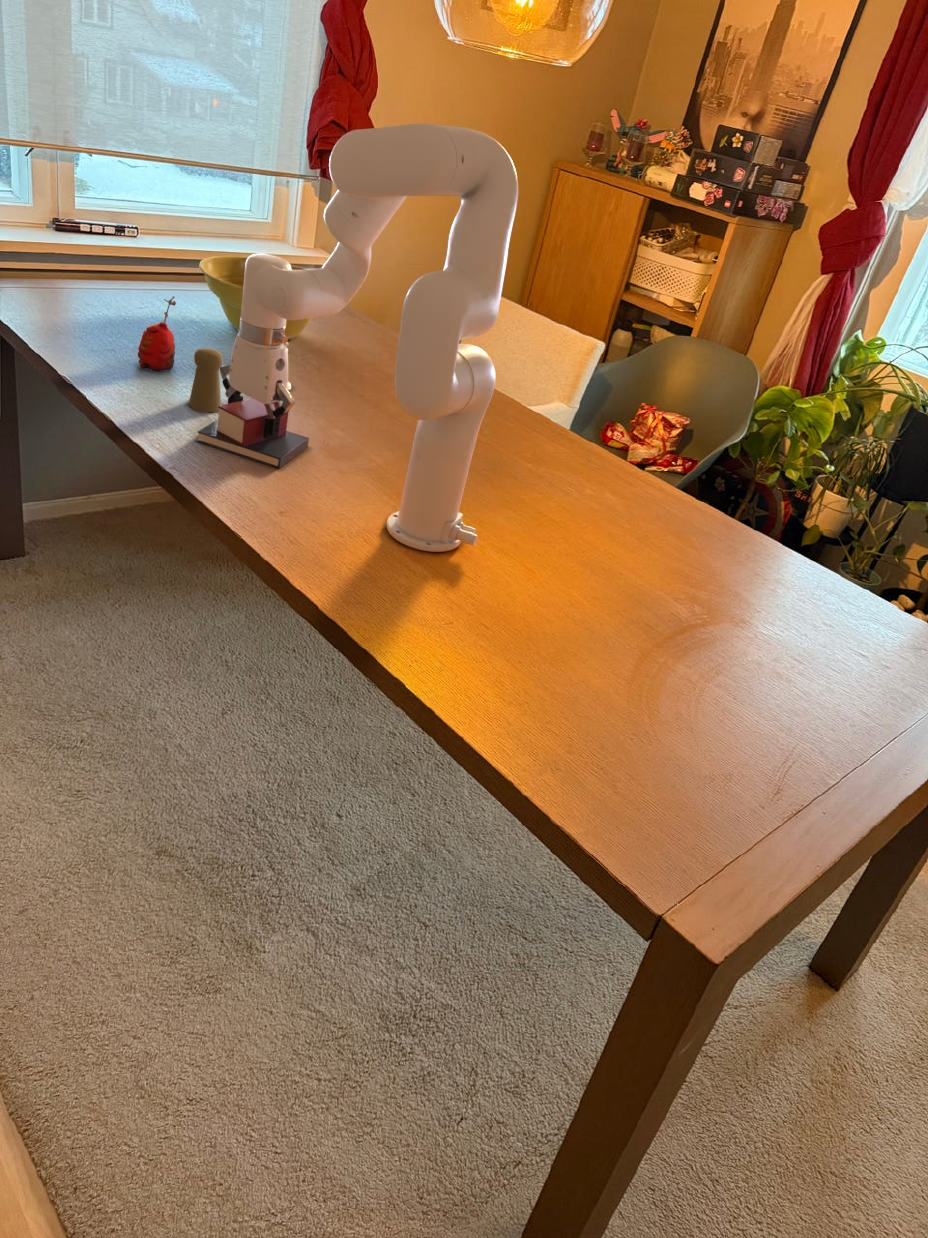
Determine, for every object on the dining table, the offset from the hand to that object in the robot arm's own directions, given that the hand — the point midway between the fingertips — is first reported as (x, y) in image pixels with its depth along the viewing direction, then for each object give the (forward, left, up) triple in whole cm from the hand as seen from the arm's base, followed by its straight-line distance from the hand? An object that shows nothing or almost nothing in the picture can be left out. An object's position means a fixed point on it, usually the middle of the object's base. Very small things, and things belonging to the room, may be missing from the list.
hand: (252, 427), depth 164 cm
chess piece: (+12, -30, -3) cm, 33 cm away
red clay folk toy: (+33, -17, -3) cm, 38 cm away
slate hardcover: (-1, 0, -3) cm, 3 cm away
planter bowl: (+34, -59, -3) cm, 69 cm away
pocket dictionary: (0, 0, -1) cm, 1 cm away
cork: (+15, -8, -3) cm, 18 cm away
